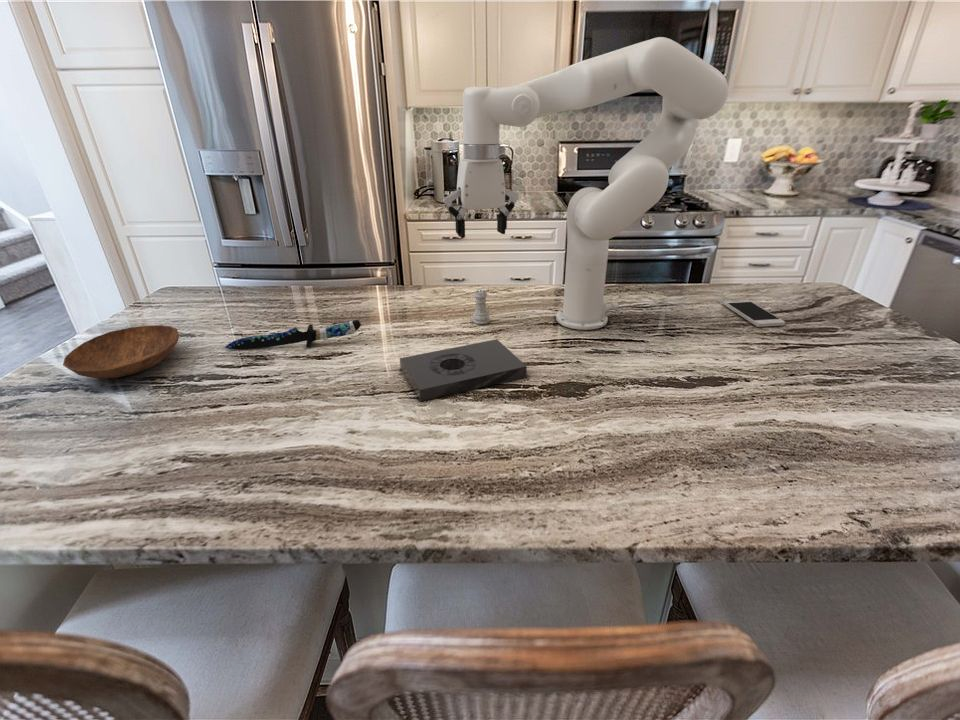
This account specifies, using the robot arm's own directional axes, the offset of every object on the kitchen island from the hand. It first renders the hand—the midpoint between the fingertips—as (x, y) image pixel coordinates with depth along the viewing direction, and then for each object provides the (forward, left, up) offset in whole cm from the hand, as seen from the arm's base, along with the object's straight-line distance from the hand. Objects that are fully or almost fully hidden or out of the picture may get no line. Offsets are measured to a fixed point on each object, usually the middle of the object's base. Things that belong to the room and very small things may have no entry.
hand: (481, 234), depth 113 cm
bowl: (+77, -11, -22) cm, 81 cm away
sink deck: (+14, +21, -22) cm, 33 cm away
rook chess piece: (0, -2, -22) cm, 22 cm away
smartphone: (-64, +23, -22) cm, 72 cm away
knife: (+44, -7, -22) cm, 49 cm away
